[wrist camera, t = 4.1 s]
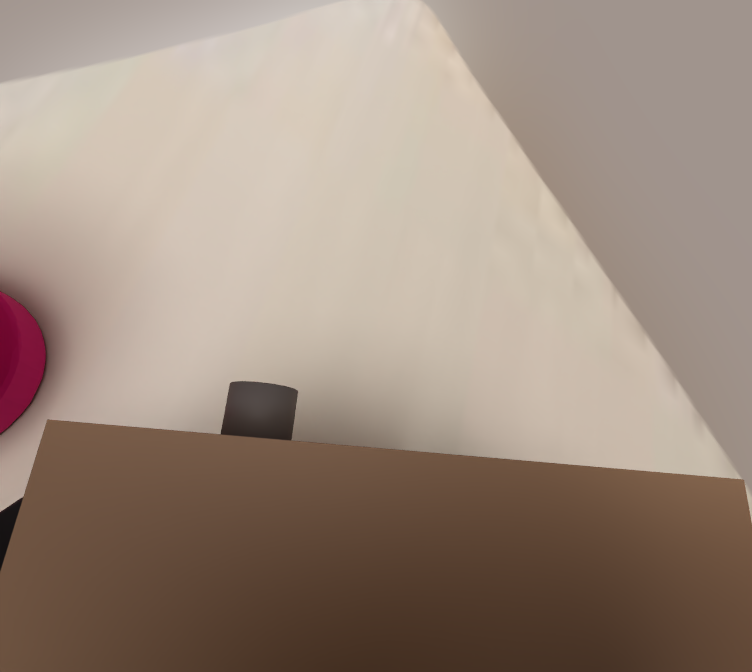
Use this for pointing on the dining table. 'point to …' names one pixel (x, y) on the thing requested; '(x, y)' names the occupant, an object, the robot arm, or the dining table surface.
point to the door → (362, 557)
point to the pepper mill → (18, 359)
